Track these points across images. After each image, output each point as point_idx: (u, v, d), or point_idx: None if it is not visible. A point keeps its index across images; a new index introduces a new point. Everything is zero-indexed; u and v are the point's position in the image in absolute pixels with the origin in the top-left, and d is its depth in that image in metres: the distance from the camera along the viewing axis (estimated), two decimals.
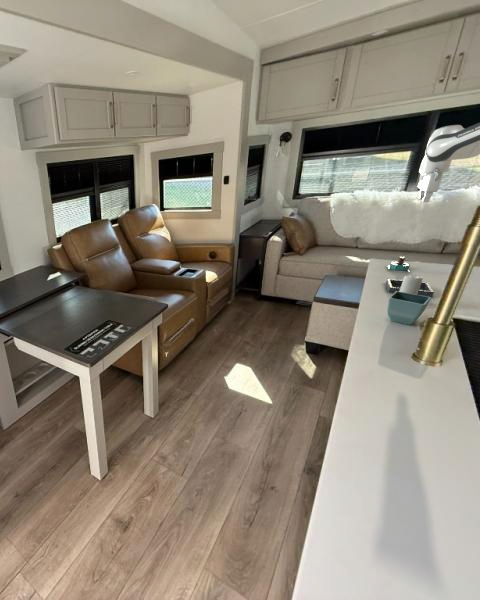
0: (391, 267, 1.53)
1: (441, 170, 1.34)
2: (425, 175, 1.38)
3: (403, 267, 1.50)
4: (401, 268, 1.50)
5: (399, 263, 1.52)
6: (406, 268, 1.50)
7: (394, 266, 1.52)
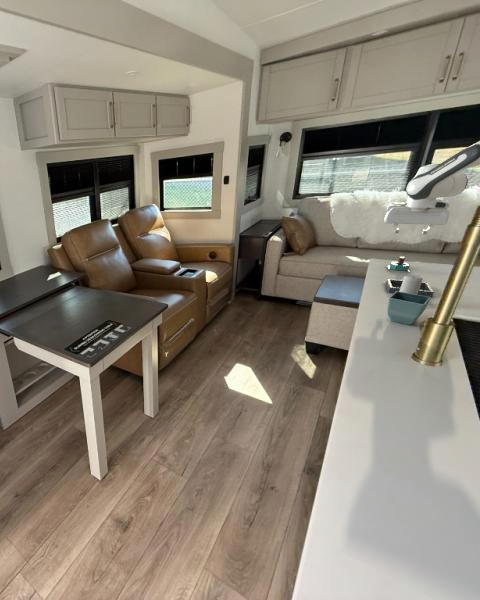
0: (391, 267, 1.53)
1: (407, 205, 1.43)
2: None
3: (403, 267, 1.50)
4: (401, 268, 1.50)
5: (399, 263, 1.52)
6: (406, 268, 1.50)
7: (394, 266, 1.52)
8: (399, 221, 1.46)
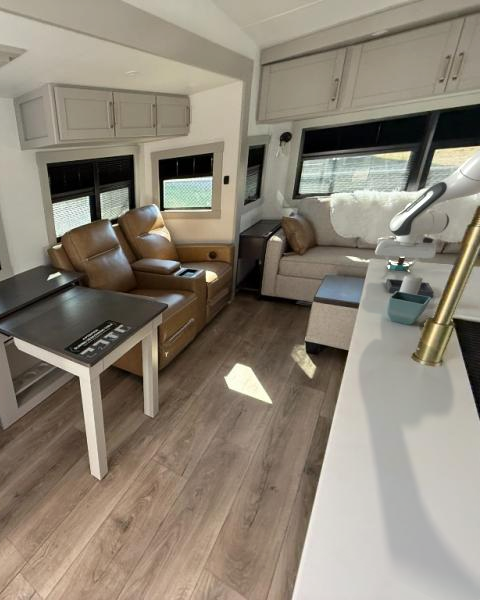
0: (391, 267, 1.53)
1: (396, 239, 1.48)
2: None
3: (403, 267, 1.50)
4: (401, 268, 1.50)
5: (399, 263, 1.52)
6: (406, 268, 1.50)
7: (394, 266, 1.52)
8: (389, 254, 1.52)
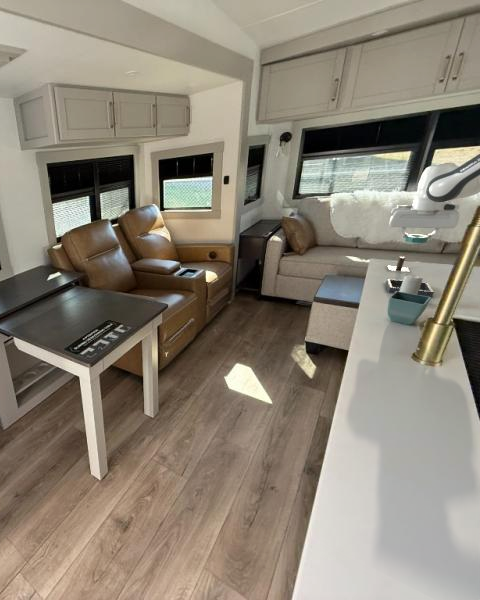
0: (407, 240, 1.38)
1: (413, 208, 1.33)
2: None
3: (421, 239, 1.34)
4: (419, 240, 1.35)
5: (399, 263, 1.52)
6: (424, 240, 1.34)
7: (410, 238, 1.36)
8: (405, 225, 1.36)
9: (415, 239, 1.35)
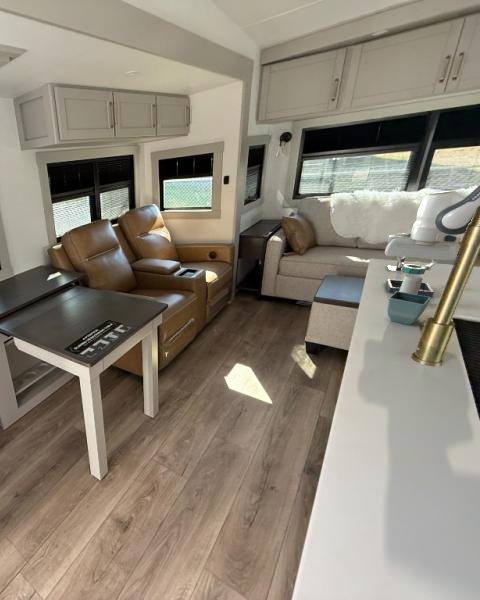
0: (404, 270, 1.29)
1: (411, 237, 1.24)
2: None
3: (418, 270, 1.25)
4: (416, 271, 1.26)
5: None
6: (422, 272, 1.25)
7: (407, 269, 1.27)
8: (402, 255, 1.27)
9: (412, 270, 1.26)
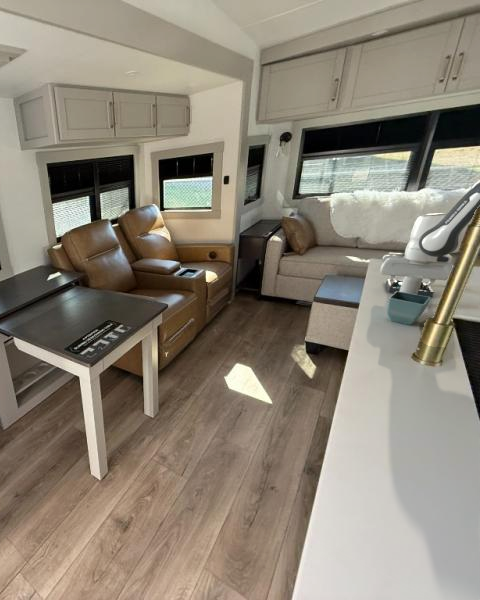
0: None
1: (405, 257, 1.27)
2: None
3: None
4: None
5: None
6: None
7: None
8: (396, 273, 1.31)
9: None
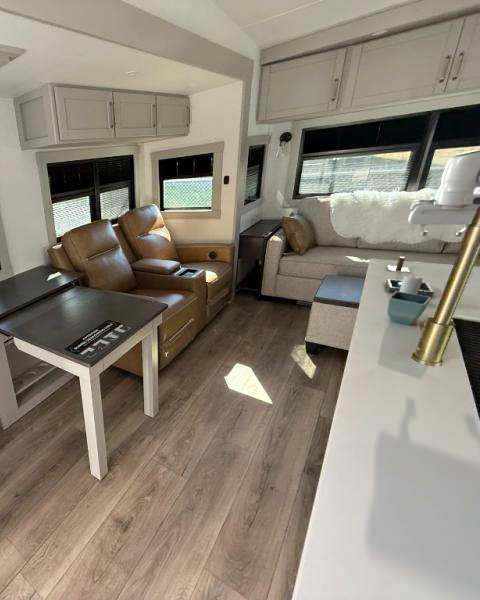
0: None
1: (437, 202, 1.18)
2: None
3: None
4: None
5: (399, 263, 1.52)
6: None
7: None
8: (427, 222, 1.22)
9: None
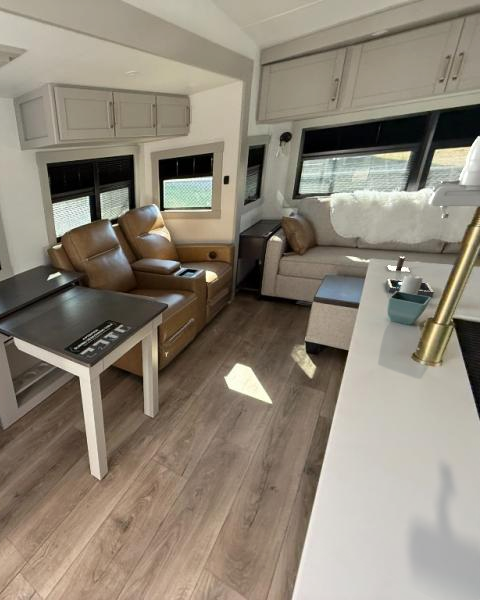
0: None
1: (461, 183, 1.16)
2: None
3: None
4: None
5: (399, 263, 1.52)
6: None
7: None
8: (449, 203, 1.19)
9: None
